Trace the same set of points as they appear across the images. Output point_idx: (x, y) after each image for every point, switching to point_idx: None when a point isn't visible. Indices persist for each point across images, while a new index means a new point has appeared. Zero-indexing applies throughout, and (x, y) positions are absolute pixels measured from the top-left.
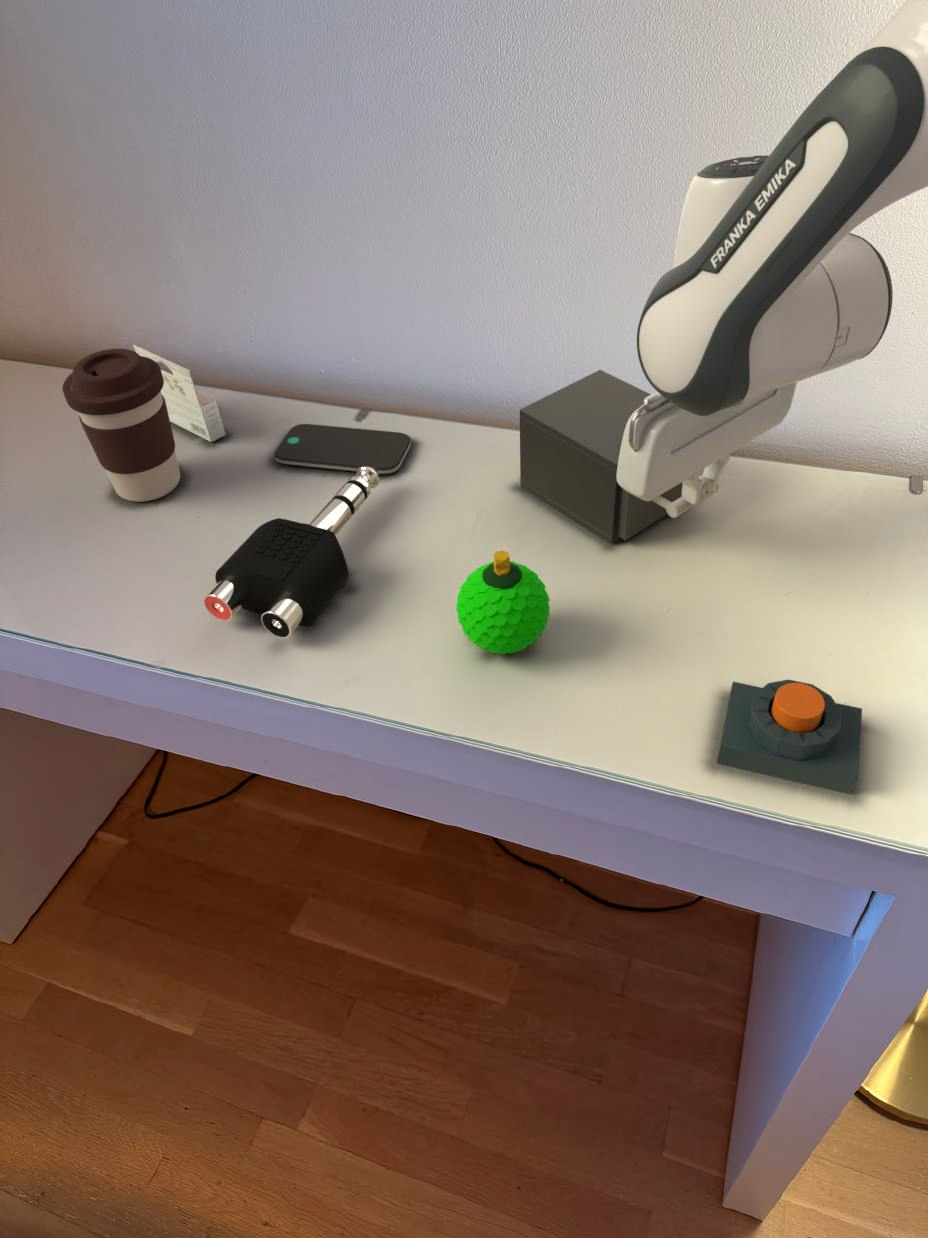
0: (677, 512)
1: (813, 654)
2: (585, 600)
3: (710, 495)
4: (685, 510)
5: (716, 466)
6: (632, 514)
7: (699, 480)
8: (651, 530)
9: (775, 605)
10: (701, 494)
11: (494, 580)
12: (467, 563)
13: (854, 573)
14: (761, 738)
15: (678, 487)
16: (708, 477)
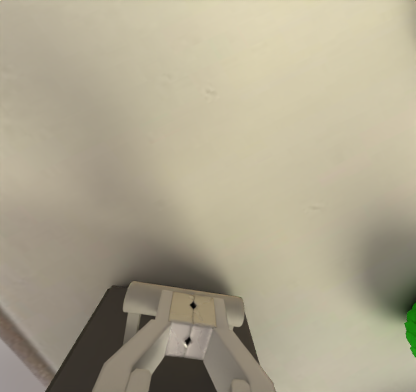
0: (243, 304)
1: (314, 2)
2: (337, 282)
3: (153, 284)
4: (222, 296)
5: (147, 359)
6: (241, 336)
7: (239, 361)
8: (194, 289)
9: (243, 98)
10: (210, 309)
11: None
12: (334, 381)
13: (105, 15)
14: None
15: (141, 322)
16: (167, 334)
